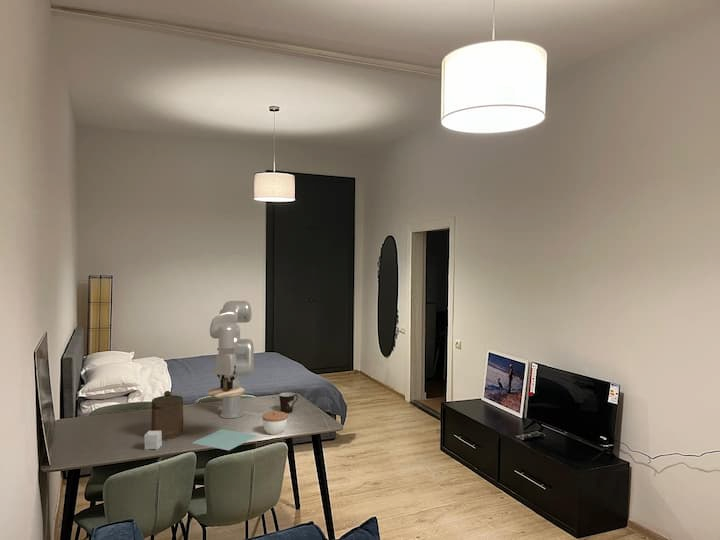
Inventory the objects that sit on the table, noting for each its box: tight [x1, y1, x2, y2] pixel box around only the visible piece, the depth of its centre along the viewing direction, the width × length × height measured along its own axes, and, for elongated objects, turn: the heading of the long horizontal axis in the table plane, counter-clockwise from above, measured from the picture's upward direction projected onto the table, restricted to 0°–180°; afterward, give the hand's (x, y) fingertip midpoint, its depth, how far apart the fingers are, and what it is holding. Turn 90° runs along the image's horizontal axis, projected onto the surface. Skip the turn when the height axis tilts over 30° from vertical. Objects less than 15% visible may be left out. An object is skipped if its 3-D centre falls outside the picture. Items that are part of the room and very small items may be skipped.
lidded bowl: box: [261, 410, 288, 436], centre depth 269 cm, size 13×13×11 cm
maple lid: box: [207, 378, 246, 399], centre depth 258 cm, size 17×17×7 cm
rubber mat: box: [191, 428, 258, 451], centre depth 258 cm, size 22×22×1 cm
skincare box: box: [143, 430, 163, 451], centre depth 247 cm, size 6×6×7 cm
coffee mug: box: [278, 391, 298, 414], centre depth 305 cm, size 12×9×10 cm
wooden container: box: [151, 390, 184, 441], centre depth 264 cm, size 15×15×22 cm
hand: (226, 388), depth 258 cm, fingers closed on maple lid, 3 cm apart
